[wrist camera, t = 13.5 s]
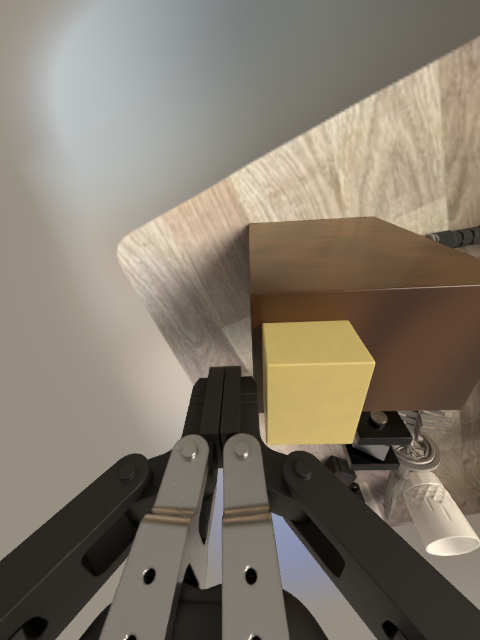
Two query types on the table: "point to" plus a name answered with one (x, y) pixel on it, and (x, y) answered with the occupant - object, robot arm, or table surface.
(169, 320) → the table surface
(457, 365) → the stand
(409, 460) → the spaceship
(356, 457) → the slicer
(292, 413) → the butter pat
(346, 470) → the handgun
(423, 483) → the white cup
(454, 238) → the knife
